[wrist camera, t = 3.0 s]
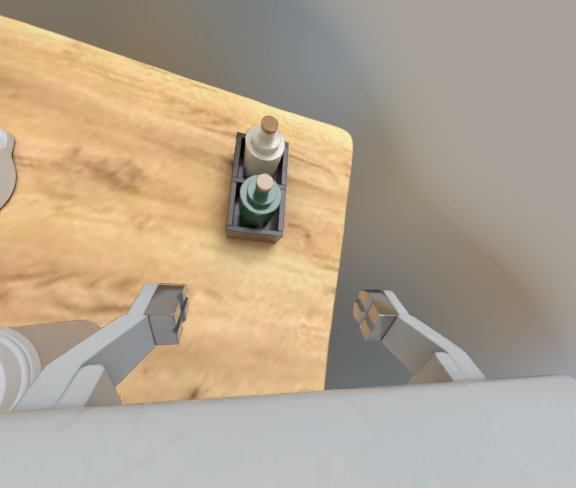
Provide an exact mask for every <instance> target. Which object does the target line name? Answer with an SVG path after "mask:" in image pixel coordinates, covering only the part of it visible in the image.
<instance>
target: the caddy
mask: <svg viewBox="0 0 576 488" xmlns="http://www.w3.org/2000/svg"><path fill="white" fill-rule="evenodd" d="M245 138H246V134H244V133H239V132H237V137H236V146H235V154H234V163H233V172H232V181H231V189H230V198H229V207H228V215H227V224H226V234H227V238H233V239H242V240H252V241H262V242H272V243H276V242H277V241H278V240H279V239H280V238H281V237H282V236H283V223H284V208H285V192H286V176H287V160H288V144H289V143H287V142H285V149H284V152H283V155H282V158H281V160H280V163H279V165H278V168H277V171H276V173H275V176H274V179H273V180H274V181H275V182H276V183H277V184H278V185H279V187H280V190H281V194H282V198H281V202H280V205H279V206H278V208H277V210H276V212H275V213H274V215H273V217H272V218H271V220H270V222H269V224H268V225H267V226H266V227H265V228H264V229H256V228H247V227H243V226H242V225H241V223H240V221H239V217H238V212H239V197H240V188H241V185H242V184H243V182H244V181H245V180H246V179H243V163H244V151H245Z"/></svg>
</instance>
